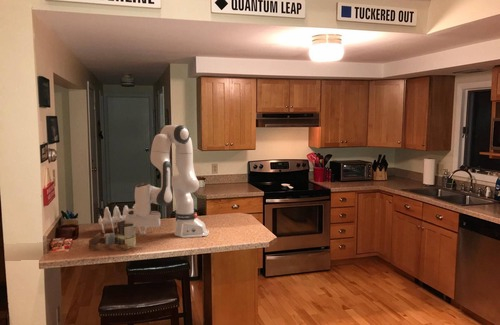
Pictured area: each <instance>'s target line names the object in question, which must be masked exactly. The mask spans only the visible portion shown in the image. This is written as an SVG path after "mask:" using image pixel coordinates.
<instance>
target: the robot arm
mask: <svg viewBox="0 0 500 325" xmlns="http://www.w3.org/2000/svg"><path fill="white" fill-rule="evenodd" d="M172 144H174V146H175V167H176V169H177V171H178V173H176V174H173V170H172V169H173V168H172V164H171V161H170V159H171V158H170V156H171V155H170V154H171V145H172ZM150 163H151V164H152V165H153V166H154V167H156V168H157V169H158V171H159V172H160V174H161V182H160V183H161V186H160V187H156V186H154V185H151V184H150V183H149V182H140V183H137V184H136V185H135V189H134V200H135V208H133V207H132V208H128V209H129V210H128V211H127V215H126V217H125V224H133V227H135V228H136V227H137V229H138V232H139V235H146V234H147V232H146V231H147V229H148V228H160V226H161V217H162V216H161V212H160V211H158V210H151V204H155V205H159V206H161V207H167V206H169V205H170V204H171V203H172V201H173V198H174V197H175V207H176V212H175V222H176V223H175V230H174V236H176V237H180V238H182V239H186V238H201V237H202V236H205V237H208V236H209V235H208V234H210V230H209V229H208V228H207V226H206V224H205V222H204V221H202V220H201V219H199V218H198V214H197V212H195V210H194V199H193V197H192V195H191V193H192V194H193V193H196V192H197V191H198V189H199V188H200V181H199V179H198V178H197V175H196V171H195V167H194V148H193V141H192V138H191V136H190V131H189V129H188V127H187V126H184V125H180V124H179V125H178V124H169V125H167V124H166V125H163V126H161V127H160V128H159V130H158V131H157V134H156V135H155V136H154V138H153V141H152V144H151V149H150ZM173 193H174V195H173ZM142 228H144V230H142ZM202 238H203V237H202Z"/></svg>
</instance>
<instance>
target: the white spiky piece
mask: <svg viewBox="0 0 500 325" xmlns="http://www.w3.org/2000/svg"><path fill="white" fill-rule="evenodd" d="M132 208H135V204H133V206H132ZM129 209H130V208H129V207H128V205H124V207H123V210H122V215H121V211H120V209H119V206H117V205H115V206H114V207H113V213H112V215H111V211H110V210H109V207H108V206H105V208H104V210H103V218H102V216H101V215H99V218H98V225H99V226H101V229H102V230H101V231H102V233H103V234H104V235H105V234H106V233H105V229H106V226H107V225H110V224H111V229H112V233H115V225H116V226H117V223H118V222H121V221H125V217H126V215H127V211H128V210H129Z"/></svg>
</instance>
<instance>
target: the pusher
mask: <svg viewBox="0 0 500 325" xmlns="http://www.w3.org/2000/svg"><path fill="white" fill-rule="evenodd" d="M103 237H107V238H106V243H105V245H115V244H116V243H115V237H116V235H115V232H110V233H105V234H104V235H103Z"/></svg>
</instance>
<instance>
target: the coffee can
mask: <svg viewBox="0 0 500 325" xmlns="http://www.w3.org/2000/svg"><path fill="white" fill-rule="evenodd" d="M116 228H117V229H116V230H117V237H118V243H117V244H127V250H128V249H131V248H134V247H136V246H137V244H136V243H137V242H136V241H137V240H136V227H133V224H125V221H121V222H117V223H116Z"/></svg>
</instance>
